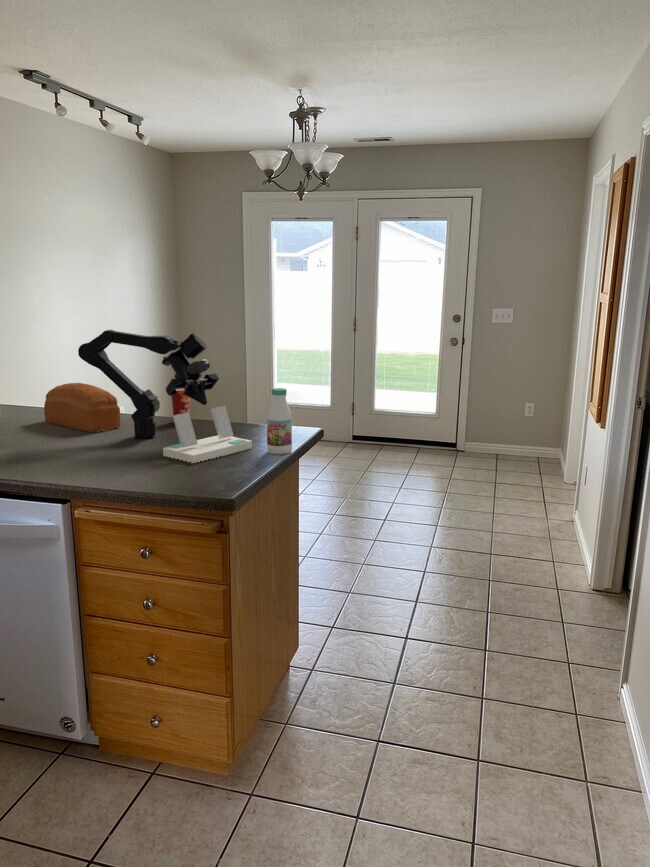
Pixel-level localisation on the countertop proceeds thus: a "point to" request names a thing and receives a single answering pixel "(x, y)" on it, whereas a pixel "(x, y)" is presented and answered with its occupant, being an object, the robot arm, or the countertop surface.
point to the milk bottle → (279, 424)
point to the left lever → (185, 430)
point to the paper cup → (180, 402)
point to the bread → (82, 407)
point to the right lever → (222, 422)
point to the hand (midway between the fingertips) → (205, 404)
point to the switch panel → (207, 449)
